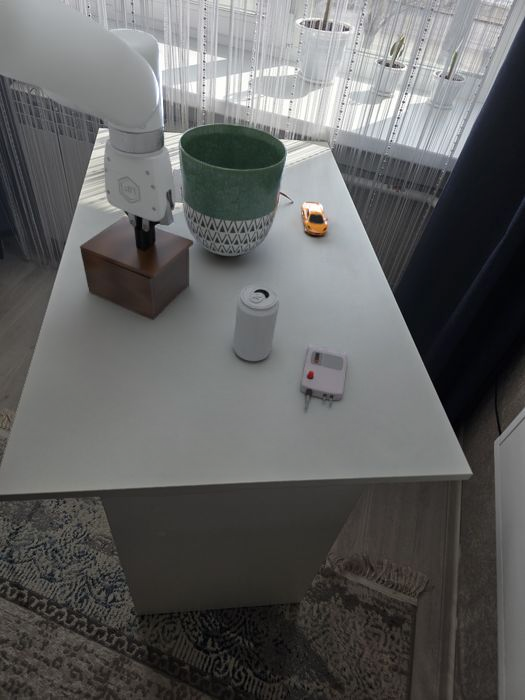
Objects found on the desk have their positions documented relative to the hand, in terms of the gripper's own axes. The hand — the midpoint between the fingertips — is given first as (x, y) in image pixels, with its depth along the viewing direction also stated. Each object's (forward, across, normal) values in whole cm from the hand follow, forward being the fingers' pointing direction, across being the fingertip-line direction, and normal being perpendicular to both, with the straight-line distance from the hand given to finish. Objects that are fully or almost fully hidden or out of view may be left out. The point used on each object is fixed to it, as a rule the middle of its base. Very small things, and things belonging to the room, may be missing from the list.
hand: (146, 245), depth 79 cm
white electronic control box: (+10, +36, -3) cm, 37 cm away
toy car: (+10, +17, +41) cm, 45 cm away
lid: (+1, -2, 0) cm, 2 cm away
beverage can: (+10, +23, -3) cm, 25 cm away
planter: (+10, +5, +21) cm, 24 cm away
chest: (+10, -2, 0) cm, 10 cm away
